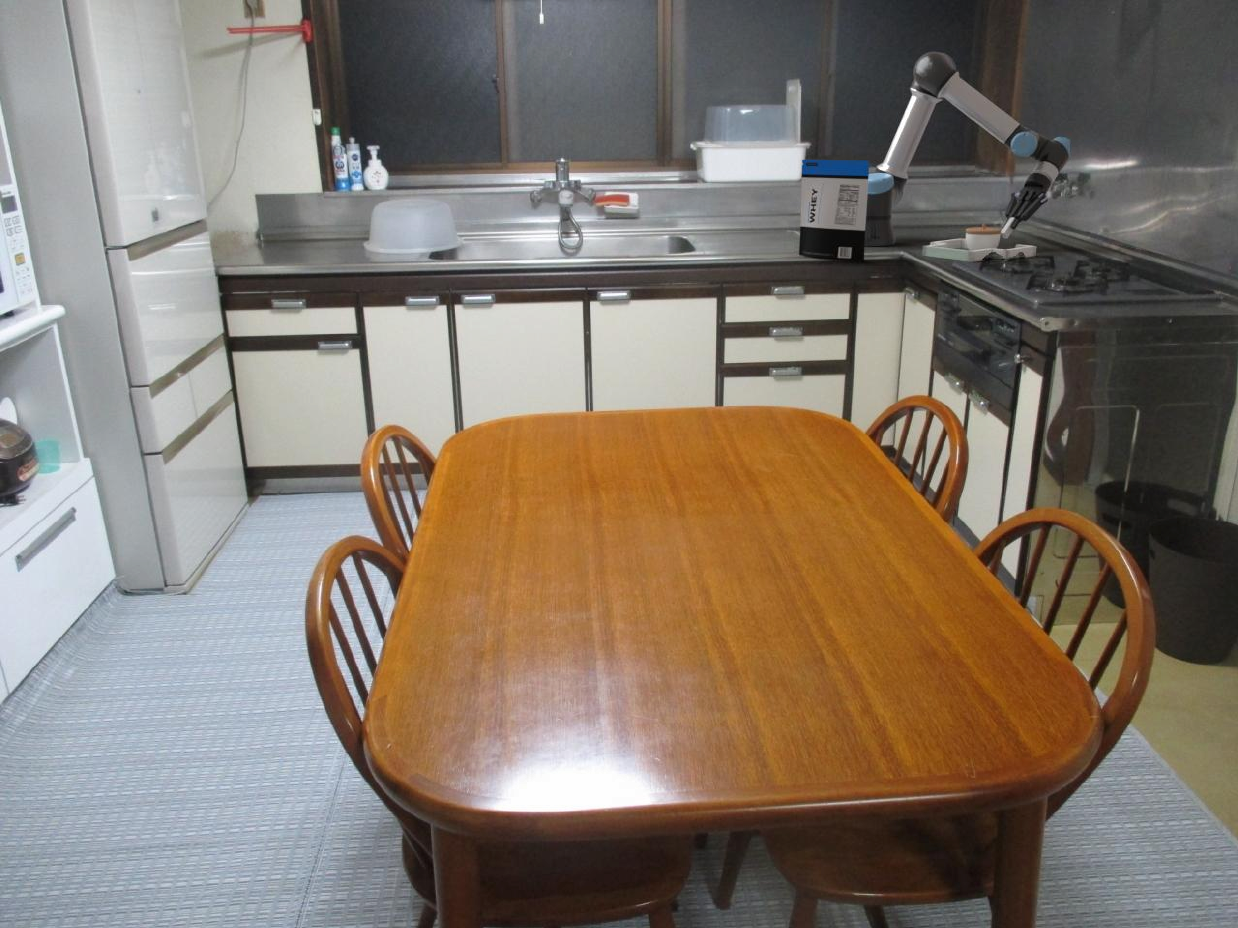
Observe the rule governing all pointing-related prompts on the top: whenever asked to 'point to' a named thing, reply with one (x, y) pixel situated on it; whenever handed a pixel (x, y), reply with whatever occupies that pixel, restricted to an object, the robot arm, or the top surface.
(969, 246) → the lidded jar
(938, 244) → the box
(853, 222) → the protein powder
